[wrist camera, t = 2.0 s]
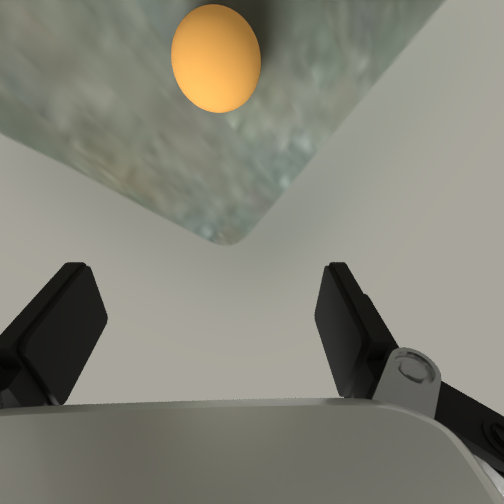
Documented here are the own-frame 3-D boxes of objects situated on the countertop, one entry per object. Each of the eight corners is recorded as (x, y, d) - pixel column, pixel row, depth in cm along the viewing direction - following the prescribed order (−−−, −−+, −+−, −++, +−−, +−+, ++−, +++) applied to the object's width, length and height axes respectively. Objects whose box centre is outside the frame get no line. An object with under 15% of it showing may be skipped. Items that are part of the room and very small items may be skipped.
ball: (181, 104, 23) (166, 113, 18) (176, 8, 19) (157, -14, 14) (254, 111, 23) (259, 121, 18) (261, 19, 20) (270, 0, 15)
